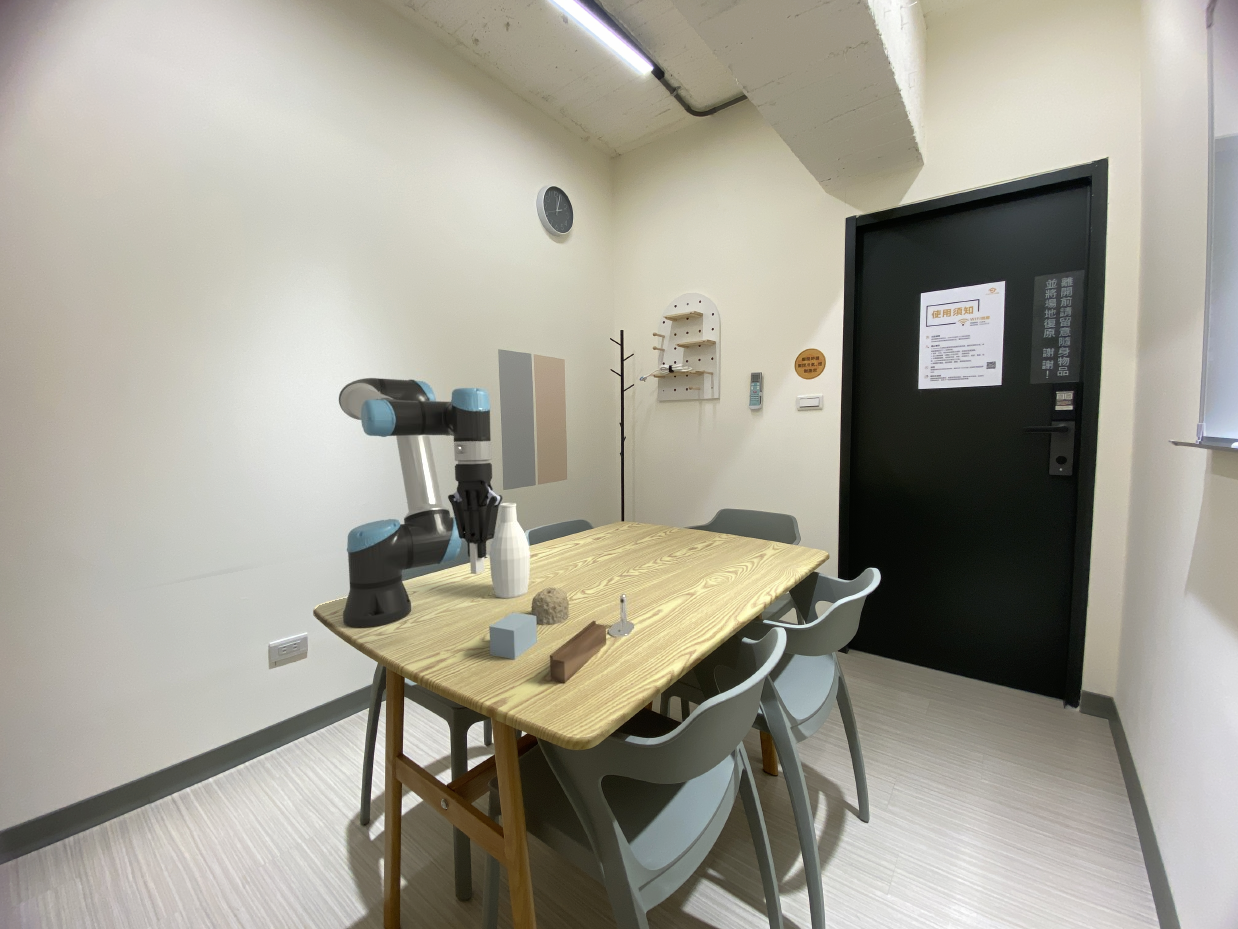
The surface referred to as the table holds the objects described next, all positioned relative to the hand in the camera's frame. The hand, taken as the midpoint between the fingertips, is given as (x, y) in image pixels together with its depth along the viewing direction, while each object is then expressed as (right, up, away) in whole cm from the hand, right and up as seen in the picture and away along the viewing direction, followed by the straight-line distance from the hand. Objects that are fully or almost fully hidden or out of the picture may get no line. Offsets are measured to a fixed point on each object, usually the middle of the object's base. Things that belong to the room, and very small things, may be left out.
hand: (477, 572), depth 101 cm
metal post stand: (+31, -15, +6) cm, 35 cm away
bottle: (0, -14, +32) cm, 35 cm away
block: (+8, -16, -3) cm, 18 cm away
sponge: (+14, -15, +14) cm, 24 cm away
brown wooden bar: (+23, -15, -9) cm, 29 cm away
